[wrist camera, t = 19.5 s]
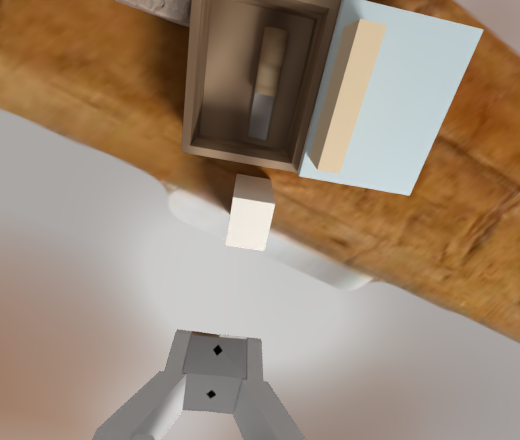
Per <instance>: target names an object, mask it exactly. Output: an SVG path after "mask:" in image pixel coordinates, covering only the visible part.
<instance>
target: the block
mask: <svg viewBox="0 0 520 440" xmlns="http://www.w3.org/2000/svg"><path fill="white" fill-rule="evenodd" d="M274 207H275V200H274V195H273V189H272V183H271V179H265V178H260V177H254V176H248V175H242V174H237V175H236V181H235V187H234V194H233V200H232V206H231V212H230V219H229V226H228V232H227V239H226V245H227V246H233V247H240V248H247V249H254V250H261V251H264V250H265V246H266V242H267V237H268V233H269V229H270V224H271V220H272V216H273V211H274Z"/></svg>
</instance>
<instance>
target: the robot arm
mask: <svg viewBox="0 0 520 440" xmlns="http://www.w3.org/2000/svg"><path fill="white" fill-rule="evenodd" d="M262 364H263V363H262V342H261V339H257V338H246V337H239V336H229V335H216V334H209V333H202V332H194V331H186V330H177V331H176V333H175V336H174V340H173V343H172V347H171V350H170V353H169V357H168V360H167V364H166V367H165V371H164V372H163V371H162V372H161V371H159V372H158V374H156V375H155V376H154V377H153V378H152V379H151V380H150V381H149V382H148V383H147V384H146V385H144V386H143V387H142V388H141V389H140V390H139V391H138V392H137V393H136V394H135V395H133V396H132V397H131V398H130V399H129V400H128V401H127V402H126V403H125V404H124V405H123V406H122V407H120V409H118V410H117V411H116V412H115V413H114V414H113V415H112V416H111V417H110V418H109V419H107V421H105V422H104V423H103V424H102V425H101V426H100V427H99V428H98V429H97V430H96V432H95V434H94V437H93V439H92V440H161V439H162V437H163V436H164V435H165V434H166V432H167V431H168V430H169V428H170V427H171V426H172V424H173V423H174V422H175V421H176V419H177V418H178V417H179V415H180V414H181V413H182V410H192V411H209V412H218V413H227V414H233V416H234V419H235V421H236V423H237V426H238V428H239V430H240V432H241V435H242V437H243V439H244V440H306V439H305V437H304V436H303V434H302V433H301V431H300V430H299V428H298V427H297V425H296V424H295V422H294V421H293V419H292V418H291V416H290V415H289V413H288V412H287V410H286V409H285V407H284V406H283V404H282V403H281V401H280V400H279V398H278V397H277V395H276V394H275V392H274V391H273V389H272V388H271V386H270V385H269V384H268V382H266V381H263V365H262Z"/></svg>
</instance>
